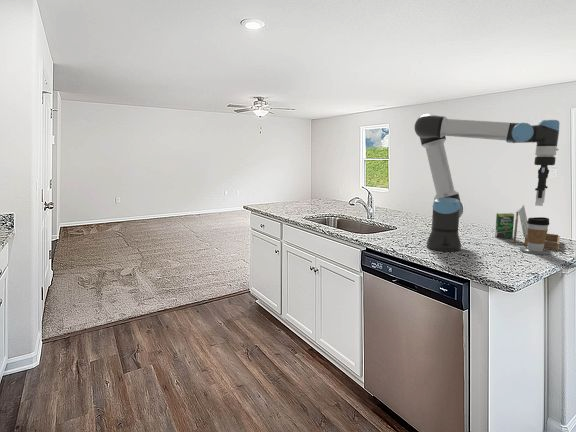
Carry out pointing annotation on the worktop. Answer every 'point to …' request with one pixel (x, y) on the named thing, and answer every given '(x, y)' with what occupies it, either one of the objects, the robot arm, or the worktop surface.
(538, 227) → the coffee cup
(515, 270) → the worktop surface
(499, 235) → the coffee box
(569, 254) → the worktop surface
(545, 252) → the disc
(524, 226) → the frame
